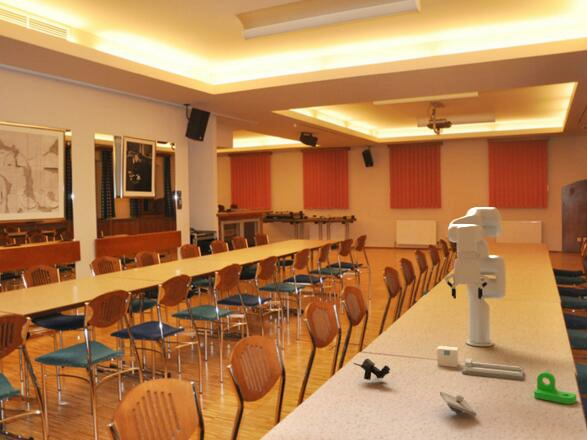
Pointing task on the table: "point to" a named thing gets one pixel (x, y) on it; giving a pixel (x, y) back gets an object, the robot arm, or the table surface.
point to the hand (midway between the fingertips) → (466, 298)
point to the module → (447, 356)
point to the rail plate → (492, 370)
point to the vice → (373, 369)
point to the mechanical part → (552, 390)
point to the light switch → (457, 404)
